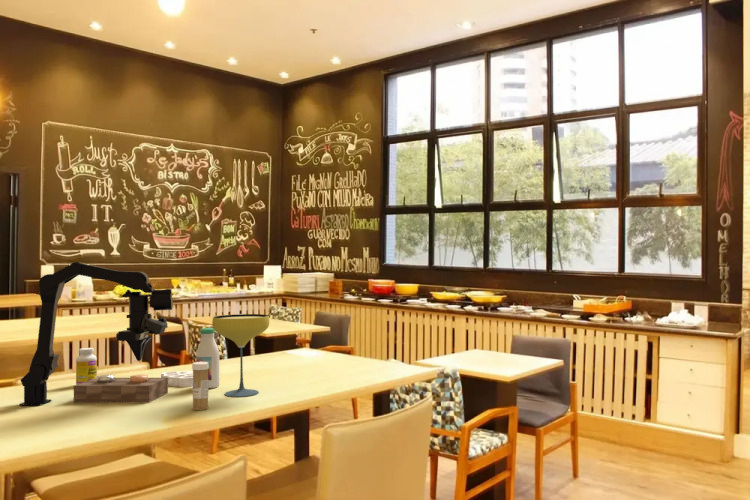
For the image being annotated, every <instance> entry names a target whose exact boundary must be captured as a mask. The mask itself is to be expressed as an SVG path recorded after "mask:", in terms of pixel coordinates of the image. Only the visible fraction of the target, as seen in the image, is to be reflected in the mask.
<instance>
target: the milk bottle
mask: <svg viewBox="0 0 750 500" xmlns="http://www.w3.org/2000/svg"><path fill="white" fill-rule="evenodd" d="M215 333H216V331H215V330H214V329H213V327H208V328H207V327H204V328H200V336H201V337H200V341H199V344H198V347H197V350H196V358H195V359H196V361H195V362H208V364H209V368H208V389H214V388H218V387H219V386H221V384H220V381H221V380H220V379H221V378H220V375H221V373H220V351H219V347H218V345H217V343H216V340H215Z"/></svg>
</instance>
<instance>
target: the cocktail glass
mask: <svg viewBox="0 0 750 500" xmlns="http://www.w3.org/2000/svg"><path fill="white" fill-rule="evenodd" d="M211 321H212V322H211V323H212V324H211V325H212V328H213V329H214V330H215V333H216V334H219V335H220V336H223V338H226V339H229V340H231V341H232V342H234V344H235V345H236V346H237V348H239V349H240V351H239V352H240V353H239V354H240V368H239V369H240V377H239V378H240V381H239V388H238V389H233V390H229V391H226V392H225V393H224V396H225V397H228V398H245V397H246V398H247V397H252V396H257V395H258V394H259V393H260V392H259V390H257V389H250V388H249V389H248V388H245V385H244V375H243V373H244V372H243V366H244V365H243V348H245V347H246V345H247V344H248V343H249V342H250V341H251V340H252V339H254V338H255V337H258V336H259V335H261V334H262V333H264V332H265V331H267V330H268V328H269V326H270V316H269V315H267V314H263V313H262V314H258V313H245V314H243V313H242V314H241V313H239V314H224V315H216V316H213V317H212V320H211Z"/></svg>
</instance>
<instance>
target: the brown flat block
mask: <svg viewBox="0 0 750 500" xmlns="http://www.w3.org/2000/svg"><path fill="white" fill-rule="evenodd" d="M114 380H115V381H113V382H111V383H96V382H97V378H95V379H92V380H89V381H86V382H84V383H81V384H78V385H73V403H151V402H153V401H155V400H157V399H159V398H160V397H163V396H165V395H166V394H168V393H169V385H168V378H161V377H148V381H147V382H144V383H130V377H114Z"/></svg>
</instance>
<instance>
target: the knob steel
mask: <svg viewBox="0 0 750 500" xmlns="http://www.w3.org/2000/svg"><path fill="white" fill-rule="evenodd" d="M114 378H115V374H100V375H97V382H96V383H111V382H113V381H115V380H114Z"/></svg>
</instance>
